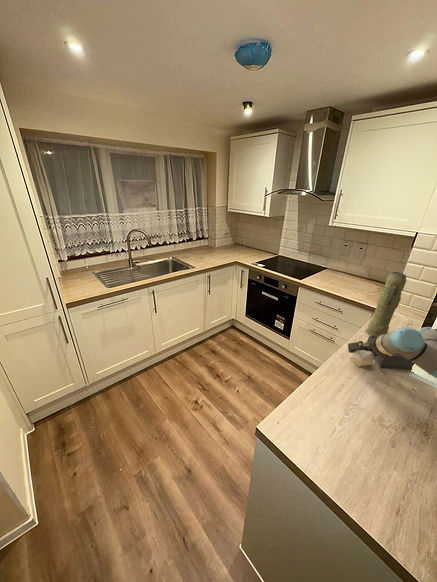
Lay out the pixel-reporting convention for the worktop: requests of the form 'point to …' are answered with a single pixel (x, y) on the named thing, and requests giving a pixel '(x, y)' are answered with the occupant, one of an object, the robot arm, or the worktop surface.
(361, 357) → the die
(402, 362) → the basin
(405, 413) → the worktop surface
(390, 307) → the green lumpy column
